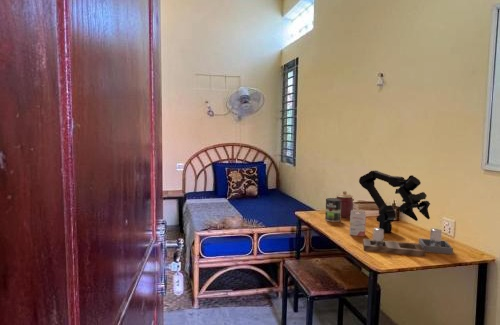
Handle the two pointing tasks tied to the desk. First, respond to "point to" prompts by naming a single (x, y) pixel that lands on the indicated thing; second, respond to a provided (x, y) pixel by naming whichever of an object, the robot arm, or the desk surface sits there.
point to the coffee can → (333, 209)
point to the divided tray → (394, 247)
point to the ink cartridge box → (357, 223)
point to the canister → (346, 203)
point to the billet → (378, 236)
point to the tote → (434, 249)
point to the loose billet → (435, 237)
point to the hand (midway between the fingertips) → (423, 219)
